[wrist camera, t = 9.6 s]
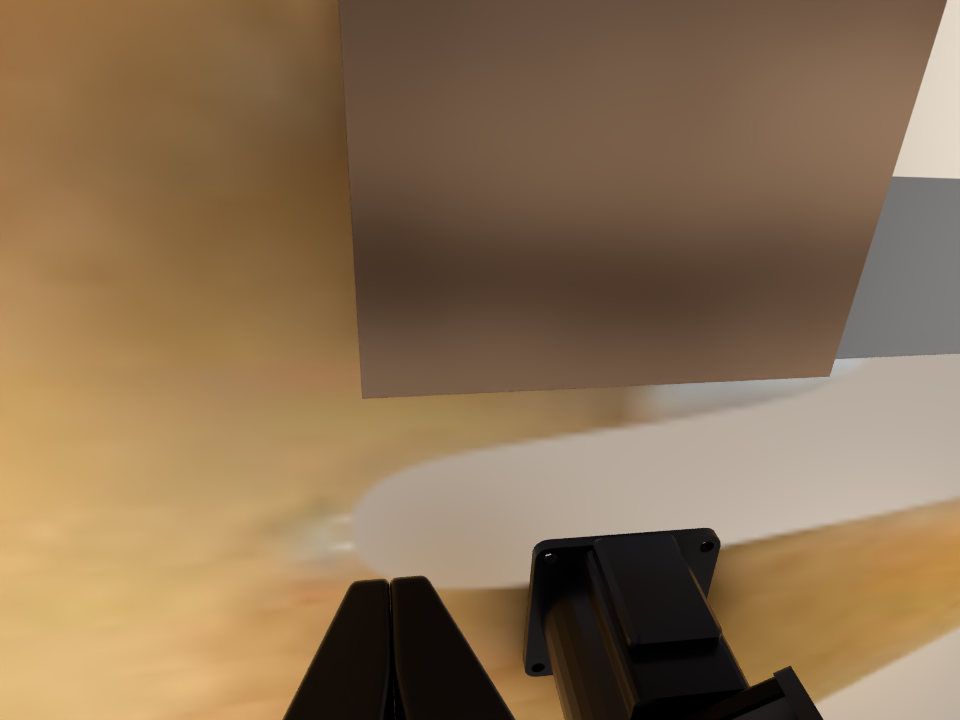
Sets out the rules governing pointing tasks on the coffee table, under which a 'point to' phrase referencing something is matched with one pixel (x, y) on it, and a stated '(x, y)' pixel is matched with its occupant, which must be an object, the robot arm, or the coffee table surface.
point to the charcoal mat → (910, 275)
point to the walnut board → (617, 185)
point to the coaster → (936, 109)
